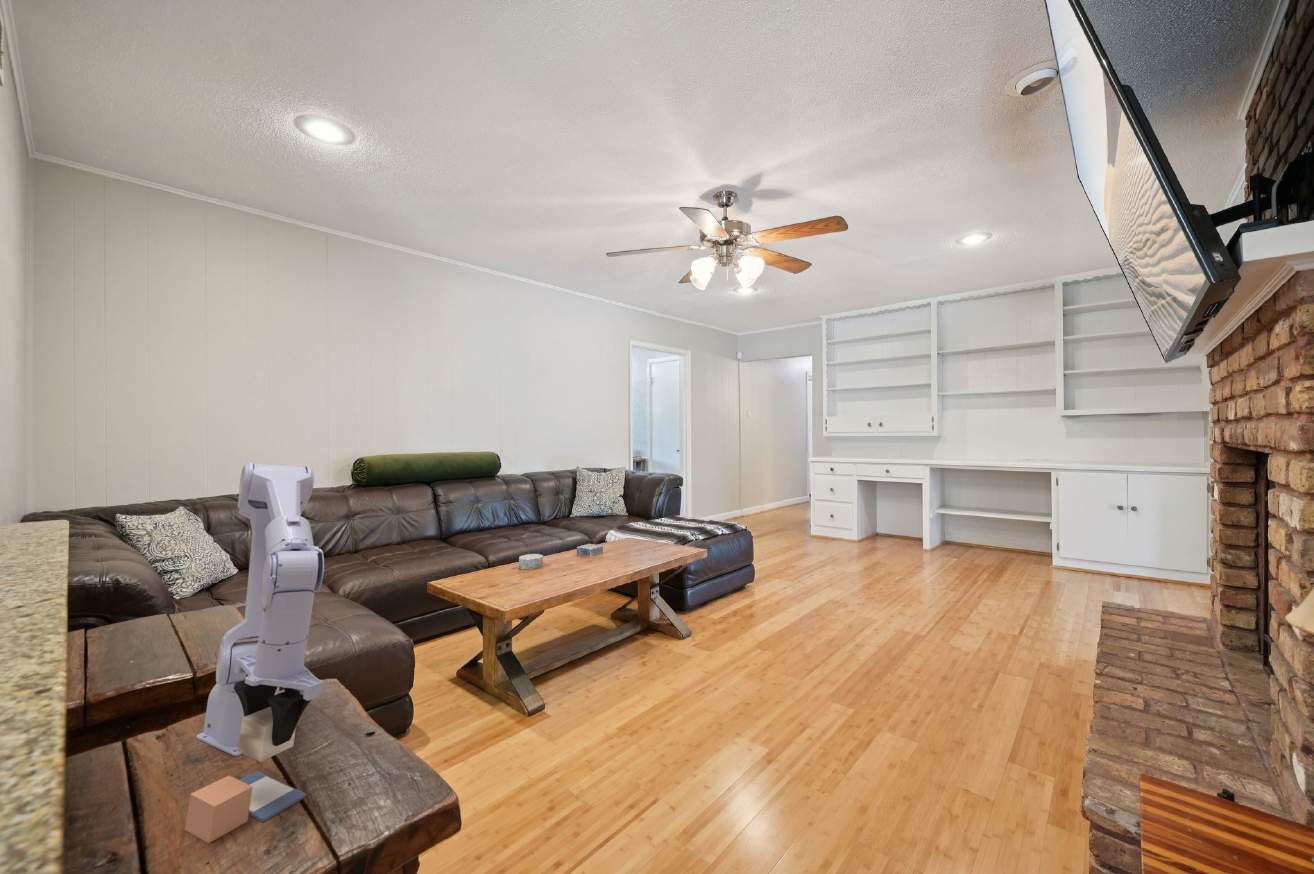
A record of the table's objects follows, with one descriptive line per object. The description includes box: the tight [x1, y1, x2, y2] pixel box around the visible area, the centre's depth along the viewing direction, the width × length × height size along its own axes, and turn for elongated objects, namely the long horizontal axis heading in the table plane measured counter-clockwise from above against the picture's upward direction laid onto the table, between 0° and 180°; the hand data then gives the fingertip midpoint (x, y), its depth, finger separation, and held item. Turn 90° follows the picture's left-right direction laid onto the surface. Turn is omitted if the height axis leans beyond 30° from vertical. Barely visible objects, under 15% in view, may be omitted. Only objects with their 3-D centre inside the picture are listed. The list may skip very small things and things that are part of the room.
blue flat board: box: [238, 770, 307, 823], centre depth 75 cm, size 10×6×1 cm, turn 70°
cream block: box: [238, 707, 297, 763], centre depth 75 cm, size 4×4×4 cm
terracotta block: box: [184, 774, 253, 844], centre depth 69 cm, size 4×4×4 cm
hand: (268, 736), depth 75 cm, fingers closed on cream block, 4 cm apart
